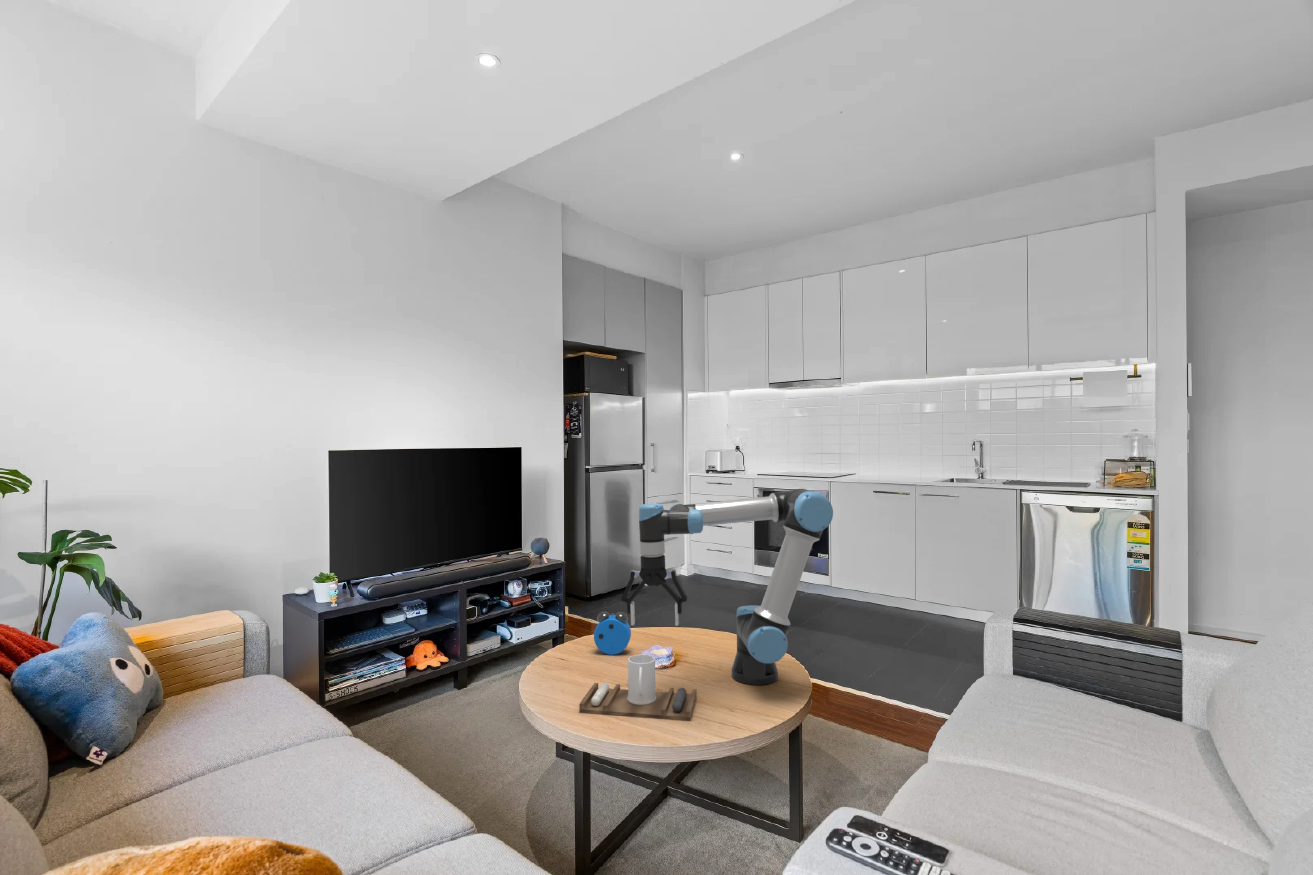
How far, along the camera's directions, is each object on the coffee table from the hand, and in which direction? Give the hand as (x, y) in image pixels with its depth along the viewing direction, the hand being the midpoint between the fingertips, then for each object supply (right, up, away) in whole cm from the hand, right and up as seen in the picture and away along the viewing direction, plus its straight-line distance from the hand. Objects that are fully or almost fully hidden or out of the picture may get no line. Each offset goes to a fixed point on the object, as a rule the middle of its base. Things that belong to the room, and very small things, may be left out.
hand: (655, 624), depth 191 cm
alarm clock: (-16, -22, +39) cm, 48 cm away
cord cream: (-16, -21, -4) cm, 27 cm away
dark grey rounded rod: (+7, -21, -9) cm, 24 cm away
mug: (-4, -21, -6) cm, 22 cm away
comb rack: (-5, -22, -7) cm, 23 cm away
